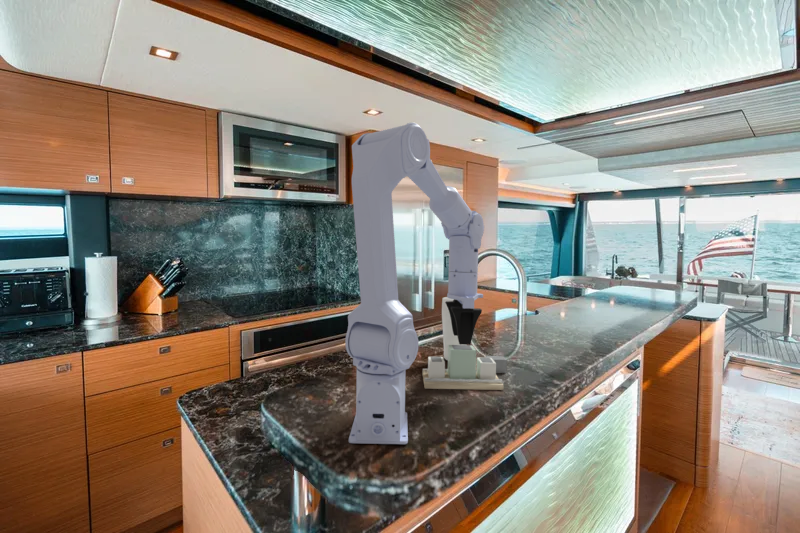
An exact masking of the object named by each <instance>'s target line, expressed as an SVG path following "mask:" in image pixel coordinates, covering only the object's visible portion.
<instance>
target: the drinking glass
mask: <svg viewBox="0 0 800 533" xmlns="http://www.w3.org/2000/svg"><path fill="white" fill-rule="evenodd" d="M453 300H454V299H451V298H448V297H447V296H445V297H442V301H441V324H442V325H441V326H442V340H443V343H442V344H443V359H444V361H447V362H448V345H466V344H459V341H458V336H454V334H453V330H452V323H451V317H450V313H449V310H448V307H447V305H446V303H445V302H447V301H453Z"/></svg>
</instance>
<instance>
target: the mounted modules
mask: <svg viewBox="0 0 800 533" xmlns="http://www.w3.org/2000/svg"><path fill="white" fill-rule="evenodd" d="M427 369H428V376H429V378H445V369H446V360H445V358H444V356H428V357H427ZM476 374H477V376H478V378H479V379H496V375H497V373H496V363H495V361H494V360H493V359H492V358H486V357H477V356H476Z"/></svg>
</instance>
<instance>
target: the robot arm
mask: <svg viewBox="0 0 800 533" xmlns="http://www.w3.org/2000/svg"><path fill="white" fill-rule="evenodd" d="M351 154H352V165H353V167H352V168H353V169H352V174H351V191H352V194H351V195H352V203H353V204H352V205H353V216H354V230H355V242H356V255H357V256H356V257H357V267H358V268H357V269H358V281H359V292H360V293H359V294H360V295H359V296H360V304H359V305H358V306H356V307H355V308H354V309H353V310H352V311H351V312H350V313H349V314H348V315H347V322H348V324H347V325H348V326H347V331H346V334H345V341H344V342H345V350H346V353H347V354H348V356H350V358H352V365H353V366H355V367H356V386H355V387H356V396H355V397H356V398H355V402H356V404H355V407H356V408H355V416H354V420H353V423H352V426H351V430H350V433H349V437H348V443H349V444H361V445H363V444H367V445H368V444H369V445H370V444H371V445H377V444H378V445H407V444H408V443H409V437H408V436H409V435H408V433H409V432H408V431H409V429H408V412H406V370H408V369H410V368H411V366H412V364H413V363H414V362H415V359H416V357H417V356H418V353H419V337H418V334H417V331H416V329H415V326H414V318H413V314H412V312H410V311H409V309H407V308H406V306H405V305H404V304H402V303H401V301H400V300H399V290H398V273H397V272H398V271H397V260H396V259H397V258H396V257H397V256H396V242H395V228H394V226H395V225H394V214H393V213H394V212H393V211H394V210H393V197H392V196H393V194H392V193H393V191H394V190H395V188H396V187H397V186H398V185H399V184H400V182H402V180H403V179H405V178H407V177H408V178H409V180H411V181H412V182H413V183H414V184H415V186H417V187H418V189H420V190H421V192H422V193H423V194H424V195H426V196H427V197H428V198H429V202H428V204H429V205H428V206H429V209H430V210H431V211H432V213H433V214H434V215H435V216H436V218H438V219H439V221H440V222H441V223H440V224H441V227H442V229H443V234H444V236H445V238H446V239H447V240H448V243H449V244H448V279H447V280H448V286H447V287H448V288H447V293H446V294H447V295H446V297H448V298H451V299H454V300H453V301H447V302H445V303H446V305H447V307H448V310H449V313H450V317H451V323H452V330H453V334H454V336H458V341H459V344H466V345H471V344H472V341H473V336H474V332H475V327H476V324H477V321H478V320H479V318H480V316H481V315H482V311H483V309H482V308H475V301H476V300H478V299H483V298H484V294H483V293H478V275H479V274H478V272H479V271H478V269H479V268H478V267H479V249H481V246H482V238H483V236H484V231H485V223H484V218H483V215H481V213H478V212H477V211H476V210H472V209H471V208H470V207H469V206H468V204H467V203H466V201H465V200H464V198H463V197H462V196H461V194H460V193H459V192H458V189H456V188H455V187H454V186H450V185H446V183H445V182H444V180H443V179H442V177H441V175H440V173H439V172H438V170H437V168H436V167H435V164H434V163H433V162H432V160H431V145H430V140H429V139H428V137H427V134H426V133H425V131H424V130H423V128H422V127H421V126H420V124H418V123H416V122H414V121H413V122H412V121H411V122H407V123H406V124H403V125H400V126H395V127H390V128H387V129H382V130H380V131H374V132H366V133H363V134H362V135H360V136H359V137H358V138H357V139H356V140H355V141H354V142H353V143H352V145H351Z"/></svg>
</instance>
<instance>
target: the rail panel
mask: <svg viewBox="0 0 800 533" xmlns="http://www.w3.org/2000/svg"><path fill="white" fill-rule="evenodd" d="M421 374H422V381H423V385H424V389H425V390H426V389H431V390H432V389H433V390H437V389H438V390H484V391H485V390H486V391H487V390H489V391H491V390H492V391H500V390H501V391H503V390H504V388H505V387H504V383H503V382H502V383H458V382H424V378H429V376H428V372H423V371H422V373H421ZM445 378H449V376H448V373H445ZM476 379H479V378H478V376H477V374H476ZM496 379H500V378H499V377H498V375H497V374H496Z"/></svg>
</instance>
